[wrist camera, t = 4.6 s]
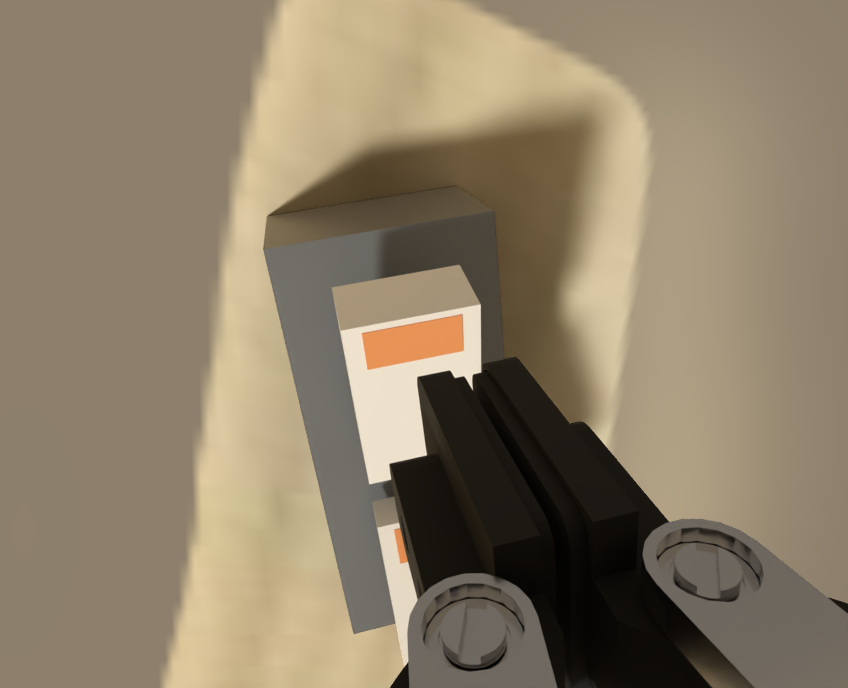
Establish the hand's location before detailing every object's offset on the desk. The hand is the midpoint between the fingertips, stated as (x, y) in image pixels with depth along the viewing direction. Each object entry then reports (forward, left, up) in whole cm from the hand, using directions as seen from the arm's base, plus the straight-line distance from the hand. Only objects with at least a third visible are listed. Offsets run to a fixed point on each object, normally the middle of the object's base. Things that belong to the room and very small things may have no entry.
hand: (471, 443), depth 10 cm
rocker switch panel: (-7, +6, -14) cm, 17 cm away
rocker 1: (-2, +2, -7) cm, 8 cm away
